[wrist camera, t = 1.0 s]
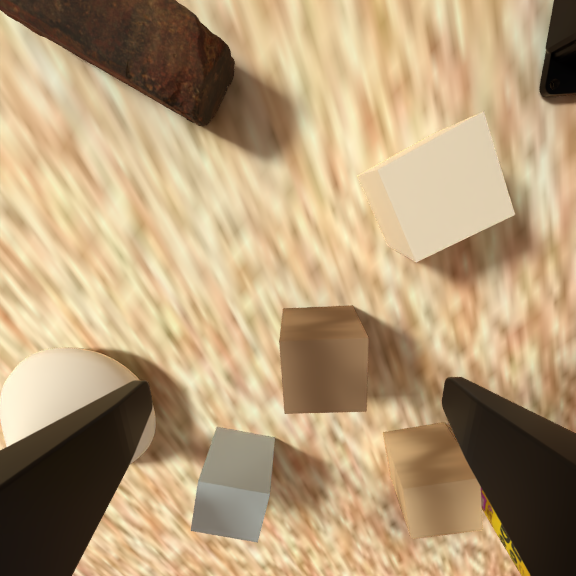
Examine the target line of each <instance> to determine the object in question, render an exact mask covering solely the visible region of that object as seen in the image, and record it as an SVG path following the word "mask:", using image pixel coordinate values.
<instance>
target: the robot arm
mask: <svg viewBox="0 0 576 576" xmlns="http://www.w3.org/2000/svg"><path fill="white" fill-rule="evenodd" d="M551 82H553V84H554V87H553V89H551V88H550V83H551ZM540 93H541V95H542V96H544V97H552V96H566V95H576V0H554V4H553V9H552V15H551V21H550V26H549V32H548V38H547V43H546V54H545V59H544V65H543V71H542V76H541V82H540ZM442 406H443V409H444V412H445V414H446V416H447V419H448V421H449V423H450V425H451V428H452V430H453V432H454V435H455V437H456V439H457V441H458V444H459V446H460V448H461V451H462V453H463V455H464V457H465V459H466V461H467V463H468V465H469V467H470V468H471V470H472V472H473V474H474V476H475V477H476V479H477V481H478V483H479V485H480V486H481V488H482V490H483V492H484V494H485V495H486V497H487V499H488V501H489V502H490V504H491V506H492V508H493V510H494V511H495V513H496V515H497V517H498V519H499V520H500V522H501V524H502V526H503V528H504V529H505V531H506V533H507V535H508V536H509V538H510V540H511V542H512V544H513V545H514V547H515V549H516V551H517V553H518V554H519V556H520V558H521V560H522V562H523V563H524V565H525V567H526V569H527V570H528V572H529V574H530V576H576V433H574V432H572V431H570V430H568V429H566V428H564V427H562V426H560V425H558V424H556V423H553V422H551V421H549V420H547V419H545V418H543V417H541V416H539V415H537V414H535V413H533V412H531V411H529V410H527V409H525V408H523V407H521V406H519V405H517V404H515V403H513V402H511V401H509V400H507V399H505V398H503V397H501V396H499V395H497V394H495V393H493V392H491V391H489V390H487V389H485V388H483V387H481V386H479V385H477V384H475V383H473V382H471V381H468V380H466V379H464V378H462V377H448V378H447V379H446V380H445V384H444V391H443V397H442ZM152 408H153V401H152V396H151V391H150V386H149V383H148V382H147V381H146V380H134V381H131V382H129V383H127V384H125V385H124V386H122V387H120V388H118V389H116V390H114V391H112V392H110V393H108V394H106V395H105V396H103V397H101V398H99V399H97V400H95V401H93V402H91V403H89V404H88V405H86V406H84V407H82V408H80V409H78V410H76V411H74V412H72V413H70V414H69V415H67V416H65V417H63V418H61V419H59V420H57V421H55V422H53V423H52V424H50V425H48V426H46V427H44V428H42V429H40V430H38V431H36V432H34V433H33V434H31V435H29V436H27V437H25V438H23V439H21V440H19V441H17V442H16V443H14V444H12V445H10V446H8V447H6V448H4V449H2V450H0V576H72V574H73V573H74V571H75V569H76V567H77V565H78V563H79V561H80V559H81V557H82V555H83V553H84V551H85V549H86V548H87V546H88V544H89V542H90V540H91V538H92V536H93V534H94V532H95V530H96V528H97V526H98V524H99V522H100V521H101V519H102V517H103V515H104V513H105V511H106V509H107V507H108V505H109V503H110V501H111V499H112V497H113V496H114V494H115V492H116V490H117V488H118V486H119V484H120V482H121V480H122V478H123V476H124V474H125V472H126V471H127V469H128V467H129V465H130V463H131V460H132V458H133V456H134V454H135V451H136V449H137V446H138V444H139V441H140V439H141V436H142V434H143V432H144V429H145V427H146V424H147V422H148V419H149V417H150V414H151V411H152Z"/></svg>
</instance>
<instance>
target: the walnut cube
mask: <svg viewBox="0 0 576 576" xmlns="http://www.w3.org/2000/svg"><path fill="white" fill-rule="evenodd" d="M279 344H280V357H281V370H282V384H283V397H284V411H285V414H292V413H330V412H366V410H367V377H368V345H369V338H368V336H367V334H366V332H365V329H364V327H363V325H362V323H361V321H360V319H359V317H358V315H357V313H356V311H355V309H354V307H353V306H332V307H309V308H286V309H283V314H282V323H281V331H280V340H279Z"/></svg>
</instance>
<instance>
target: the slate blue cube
mask: <svg viewBox="0 0 576 576" xmlns="http://www.w3.org/2000/svg"><path fill="white" fill-rule="evenodd" d="M274 443H275V437H269V436H264V435H258V434H253V433H248V432H242V431H237V430H231V429H226V428H220V427H217V428H216V431H215V434H214V437H213V440H212V443H211V445H210V448H209V451H208V454H207V457H206V460H205V463H204V466H203V469H202V472H201V475H200V478H199V480H198V486H197V493H196V499H195V506H194V513H193V520H192V526H191V531H195V532H201V533H206V534H212V535H218V536H224V537H230V538H235V539H241V540H247V541H253V542H258V539H259V535H260V531H261V527H262V523H263V519H264V515H265V512H266V508H267V504H268V500H269V496H270V488H271V477H272V466H273V454H274Z"/></svg>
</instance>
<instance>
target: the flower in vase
mask: <svg viewBox="0 0 576 576" xmlns="http://www.w3.org/2000/svg"><path fill="white" fill-rule="evenodd" d="M134 380H139V379H138V378H137V376H136V375H135V374H133V373H132V372H131V371H130V370H129V369H128V368H126V367H125V366H124V365H122V364H121V363H119V362H118V361H116V360H114V359H113V358H110V357H108V356H106V355H104V354H101V353H98V352H95V351H91V350H87V349H80V348H51V349H46V350H42V351H39V352H36V353H34V354H31V355H30V356H28V357H27V358H25V359H24V360H22V361H21V362H20V363H19V364H18V365H17V366H16V368H15V369H14V370H13V371H12V373H11V374H10V376H9V377H8V378H7V380H6V382H5V384H4V386H3V389H2V392H1V400H0V420H1V425H2V430H3V434H4V438H5V442H6V447H8V446H10V445H12V444H14V443H16V442H17V441H19V440H21V439H23V438H25V437H27V436H29V435H31V434H33V433H34V432H36V431H38V430H40V429H42V428H44V427H46V426H48V425H50V424H52V423H53V422H55V421H57V420H59V419H61V418H63V417H65V416H67V415H69V414H70V413H72V412H74V411H76V410H78V409H80V408H82V407H84V406H86V405H88V404H89V403H91V402H93V401H95V400H97V399H99V398H101V397H103V396H105V395H106V394H108V393H110V392H112V391H114V390H116V389H118V388H120V387H122V386H124V385H125V384H127V383H129V382H131V381H134ZM155 428H156V417H155V412H154V407H153V408H152V411H151V414H150V417H149V419H148V422H147V424H146V427H145V429H144V432H143V434H142V436H141V439H140V441H139V444H138V446H137V449H136V451H135V454H134V456H133V458H132V460H131V463H133V462H134V461H135V460H136V459H138V458H139V457H140V456H141V455H142V454H143V453H144V452H145V451H146V450H147V449H148V447H149V446H150V444H151V442H152V440H153V437H154V434H155ZM131 463H130V464H131Z"/></svg>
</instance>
